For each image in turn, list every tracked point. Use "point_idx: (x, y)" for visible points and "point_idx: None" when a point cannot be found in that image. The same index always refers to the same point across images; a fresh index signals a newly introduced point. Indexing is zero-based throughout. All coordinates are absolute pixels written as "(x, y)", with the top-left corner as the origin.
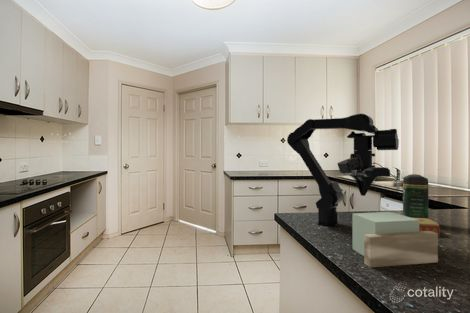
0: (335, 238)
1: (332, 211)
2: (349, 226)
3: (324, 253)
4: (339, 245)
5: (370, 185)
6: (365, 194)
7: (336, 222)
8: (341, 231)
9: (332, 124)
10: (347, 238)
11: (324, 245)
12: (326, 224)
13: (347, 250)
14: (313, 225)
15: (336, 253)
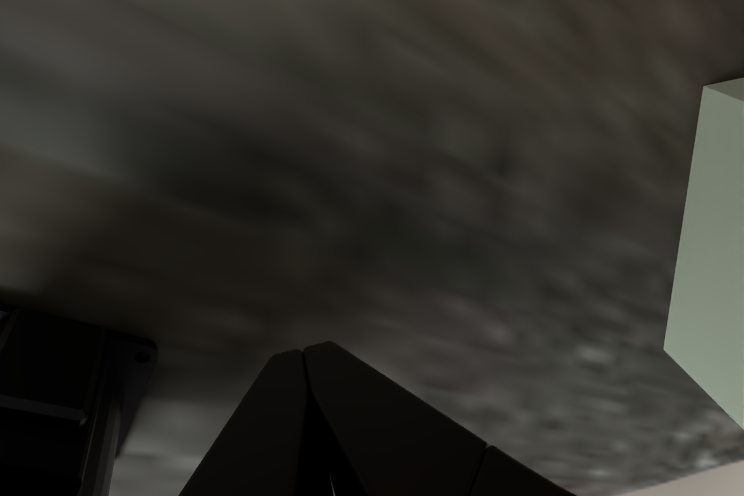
0: (475, 397)
1: (90, 479)
2: (108, 202)
3: (671, 475)
4: (596, 399)
5: (532, 472)
6: (346, 353)
7: (102, 346)
8: (306, 324)
9: None
10: (485, 326)
11: (578, 465)
12: (131, 417)
13: (671, 378)
14: (129, 493)
15: (688, 431)
